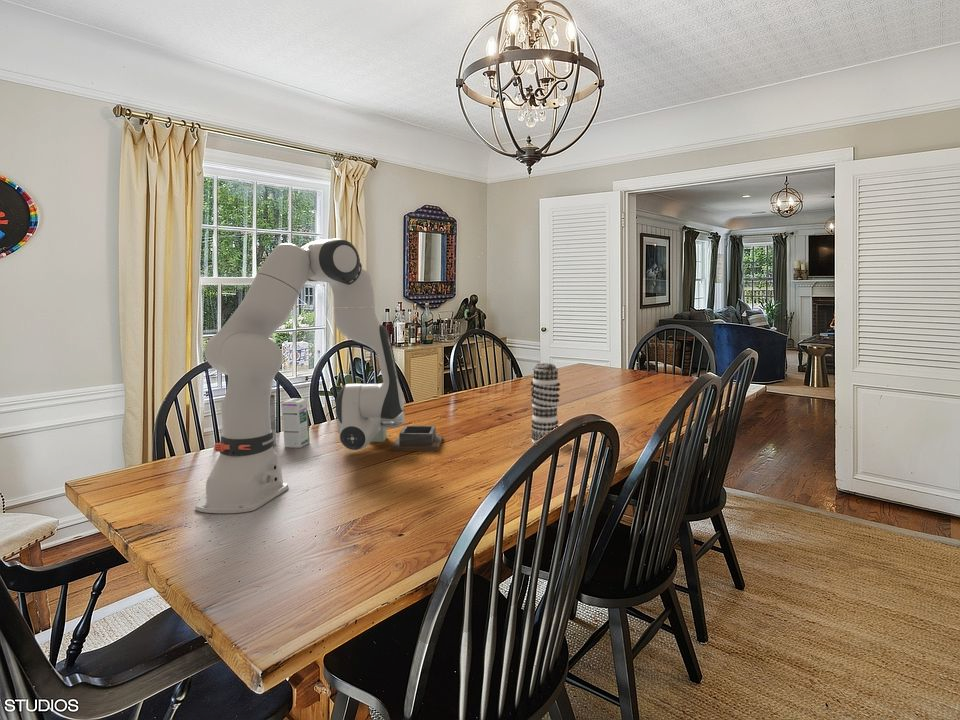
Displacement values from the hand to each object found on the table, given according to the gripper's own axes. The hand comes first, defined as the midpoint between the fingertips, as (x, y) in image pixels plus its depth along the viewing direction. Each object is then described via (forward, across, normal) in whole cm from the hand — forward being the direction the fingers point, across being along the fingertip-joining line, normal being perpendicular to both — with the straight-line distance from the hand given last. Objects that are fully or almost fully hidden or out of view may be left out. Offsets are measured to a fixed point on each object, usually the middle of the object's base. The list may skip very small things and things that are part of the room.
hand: (376, 412), depth 184 cm
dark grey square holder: (-4, -14, +9) cm, 17 cm away
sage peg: (+1, 0, +9) cm, 9 cm away
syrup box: (-6, +24, +9) cm, 26 cm away
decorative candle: (0, -54, +9) cm, 55 cm away
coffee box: (-6, +36, +9) cm, 38 cm away
